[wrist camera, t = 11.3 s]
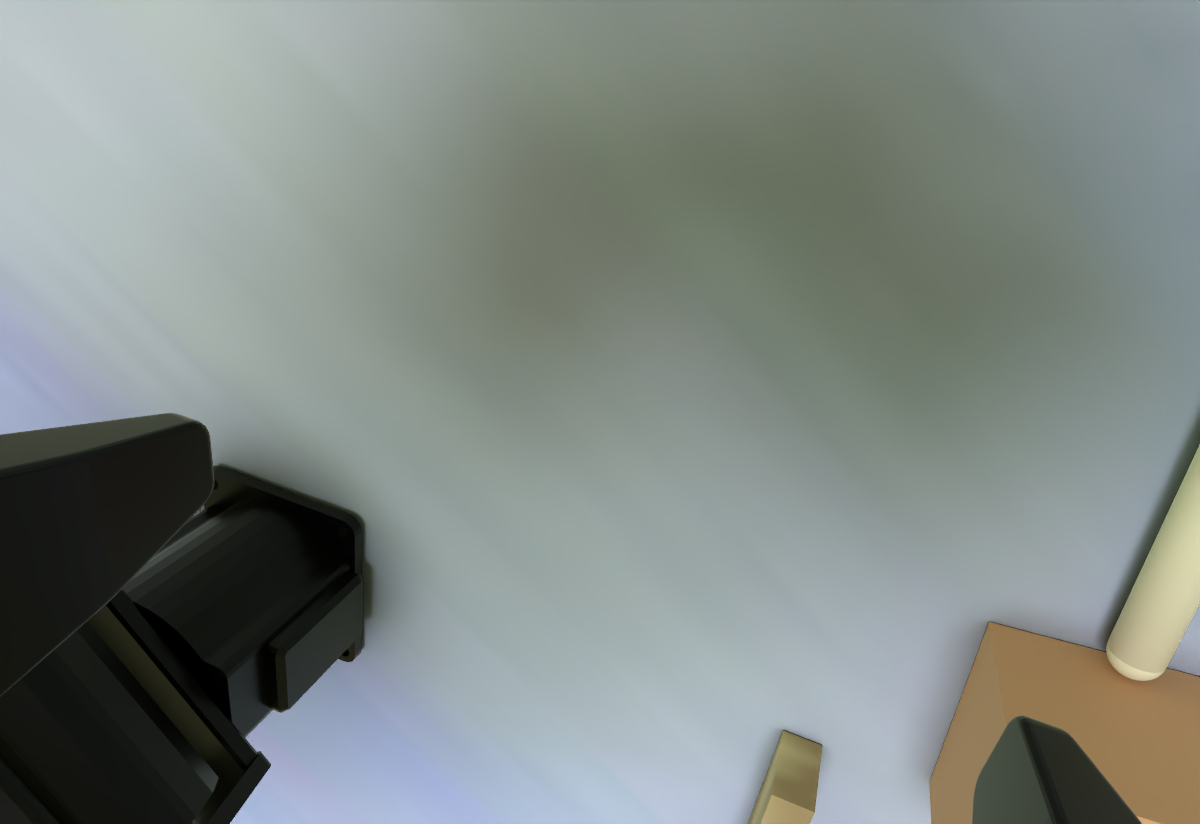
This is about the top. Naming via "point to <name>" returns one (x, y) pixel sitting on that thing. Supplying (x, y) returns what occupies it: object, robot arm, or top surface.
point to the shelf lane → (789, 783)
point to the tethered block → (1098, 689)
